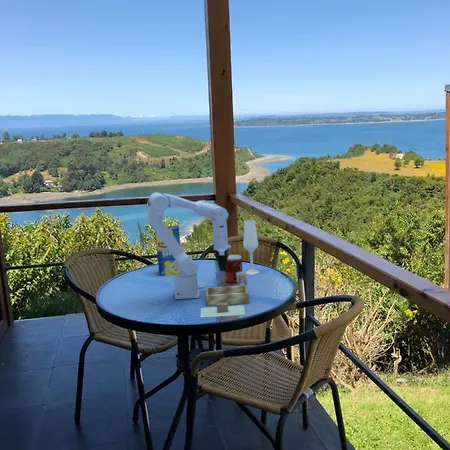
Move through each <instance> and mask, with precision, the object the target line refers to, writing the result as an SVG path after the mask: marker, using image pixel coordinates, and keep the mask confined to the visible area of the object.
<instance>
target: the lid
mask: <svg viewBox="0 0 450 450" xmlns="http://www.w3.org/2000/svg"><path fill="white" fill-rule="evenodd" d="M245 310H246V309H245V305H244V304H237V305H228V302H226V303H217V305H216V306H207V307H201V308H200V319H201V318H202V319H203V318H204V317H207V318H219V317H221V316H222V317H234V316H235V317H236V316H246V311H245ZM204 319H205V318H204Z"/></svg>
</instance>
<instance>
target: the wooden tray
mask: <svg viewBox="0 0 450 450" xmlns="http://www.w3.org/2000/svg"><path fill="white" fill-rule="evenodd" d="M205 291H206V292H205V293H206V294H205V295H206V296H205V297H206V307H216V306H217V303H226V302H228V306H231V305H244V304H249V303H250V296H249V295H250V294H249V290H248V284H247V285H244V284H243V285H240V286H237V285H235V286H234V285H232V286H230V285H229V286H217V287H214V286H213V287H206V288H205Z"/></svg>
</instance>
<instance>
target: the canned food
mask: <svg viewBox="0 0 450 450" xmlns="http://www.w3.org/2000/svg"><path fill="white" fill-rule="evenodd" d="M242 271H243V258H242V256H241V255H240V254H229V256H228V259H227V262H226V270H225V271H224V280H225V282H226V283H227V284H232V285H237V274H236V272H242ZM239 283H240V284H241V283H242V282H240V278H239Z"/></svg>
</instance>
